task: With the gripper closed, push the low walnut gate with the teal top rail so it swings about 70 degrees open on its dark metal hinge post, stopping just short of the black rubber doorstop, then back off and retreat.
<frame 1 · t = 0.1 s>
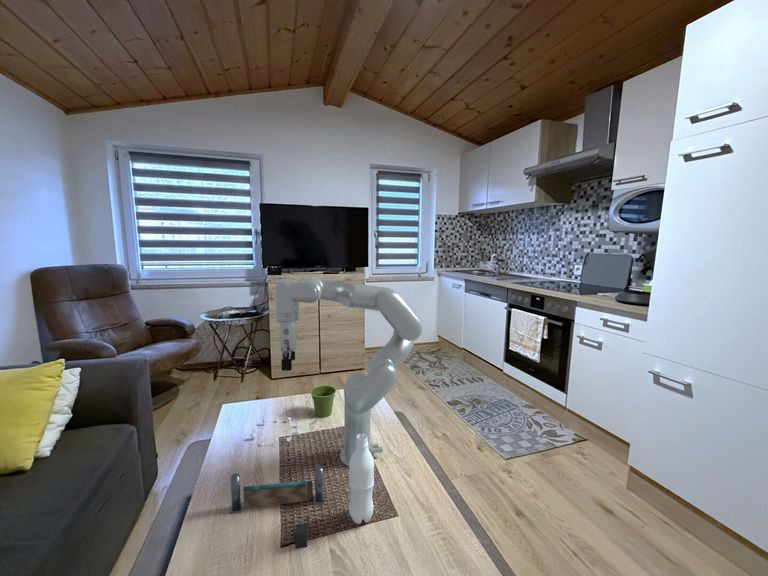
hand: (288, 364, 112), 37 cm above the table, tool pointing down, fingers open, 9 cm apart
plant pot: (323, 414, 151), on the table
gate: (278, 492, 98), point 4 cm above the table, hinge at 0.0°
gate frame: (309, 501, 100), on the table
water bottle: (361, 517, 94), on the table
scattered white fragments: (276, 434, 135), on the table
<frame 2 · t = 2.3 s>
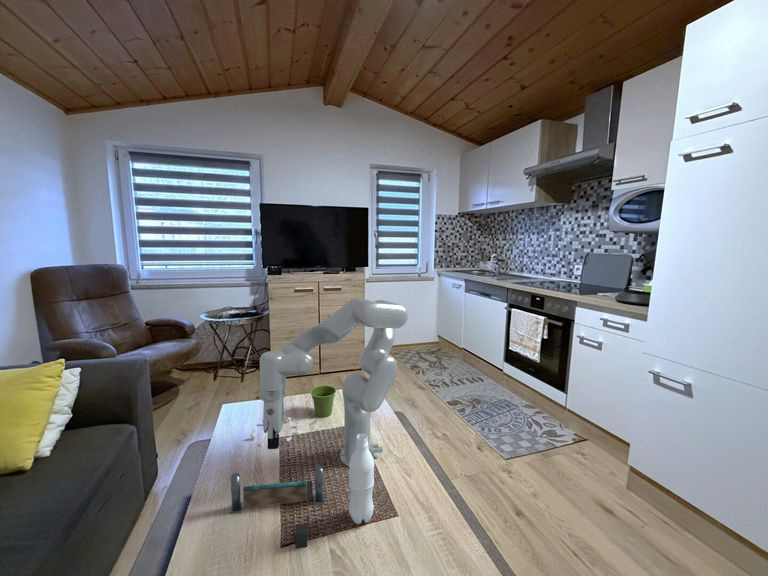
hand: (273, 447, 102), 15 cm above the table, tool pointing down, fingers closed
nothing on the table moved.
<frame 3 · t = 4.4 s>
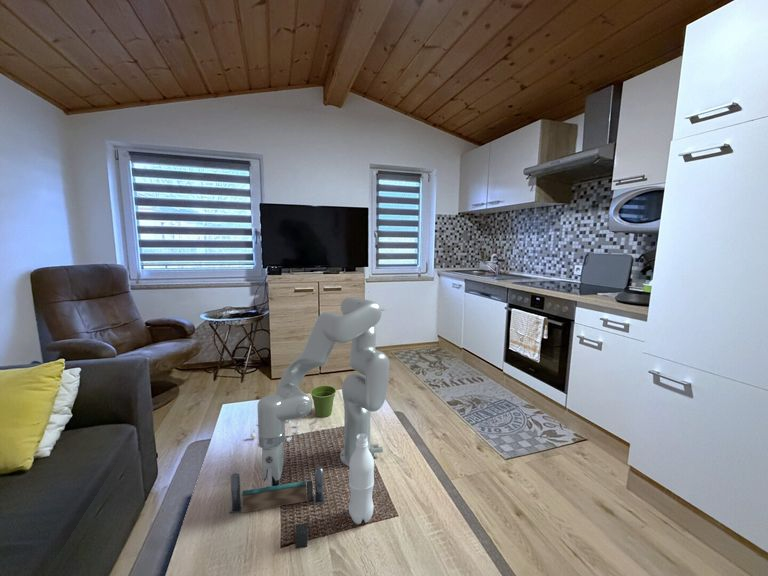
hand: (273, 492, 100), 2 cm above the table, tool pointing down, fingers closed
gate: (278, 494, 97), point 4 cm above the table, hinge at 5.2°, touching gripper
everything else where it was.
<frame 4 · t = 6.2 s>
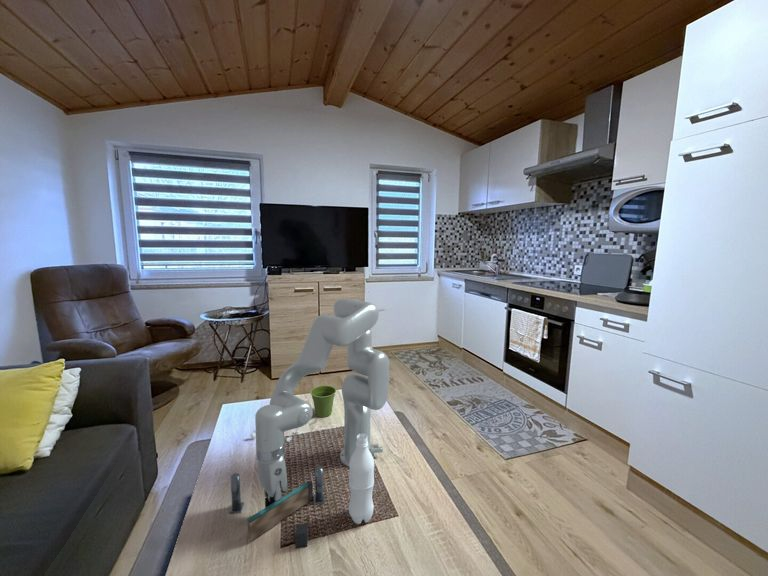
hand: (271, 509, 93), 2 cm above the table, tool pointing down, fingers closed
gate: (283, 507, 92), point 4 cm above the table, hinge at 38.9°, touching gripper
everything else where it was.
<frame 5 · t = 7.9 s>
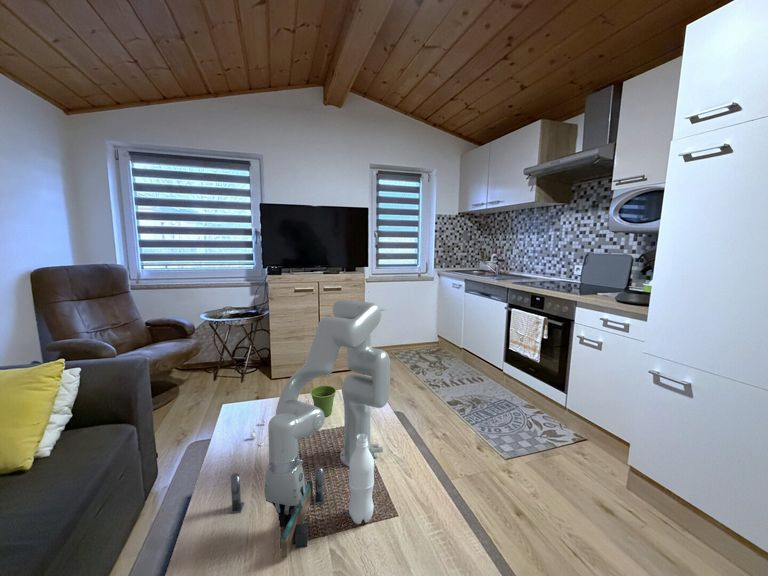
hand: (285, 522, 89), 2 cm above the table, tool pointing down, fingers closed
gate: (298, 514, 90), point 4 cm above the table, hinge at 74.3°, touching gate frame, gripper
everything else where it was.
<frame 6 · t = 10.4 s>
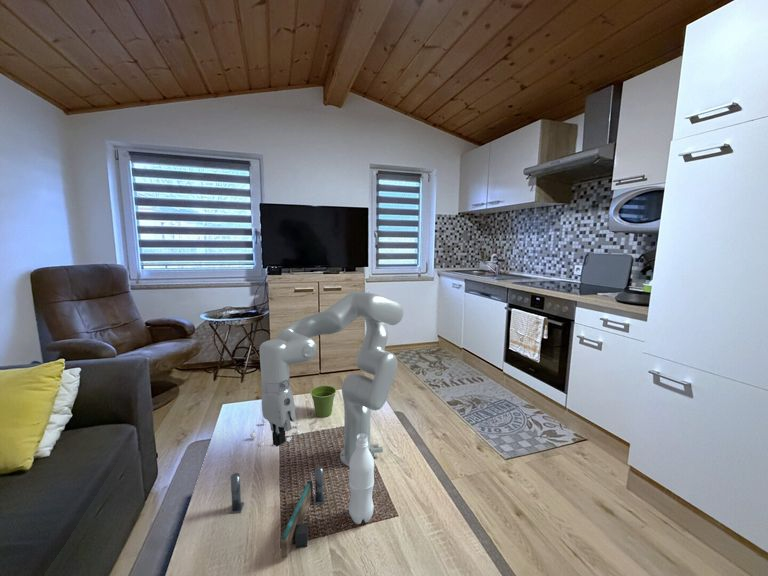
hand: (279, 443, 94), 21 cm above the table, tool pointing down, fingers closed
gate: (298, 514, 90), point 4 cm above the table, hinge at 74.3°, touching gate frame
everything else where it was.
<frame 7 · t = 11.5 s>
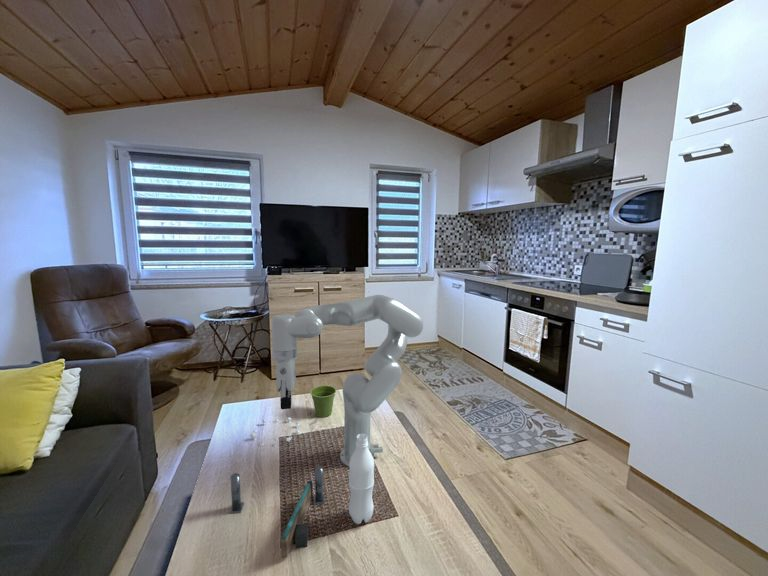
hand: (286, 407, 106), 25 cm above the table, tool pointing down, fingers closed
nothing on the table moved.
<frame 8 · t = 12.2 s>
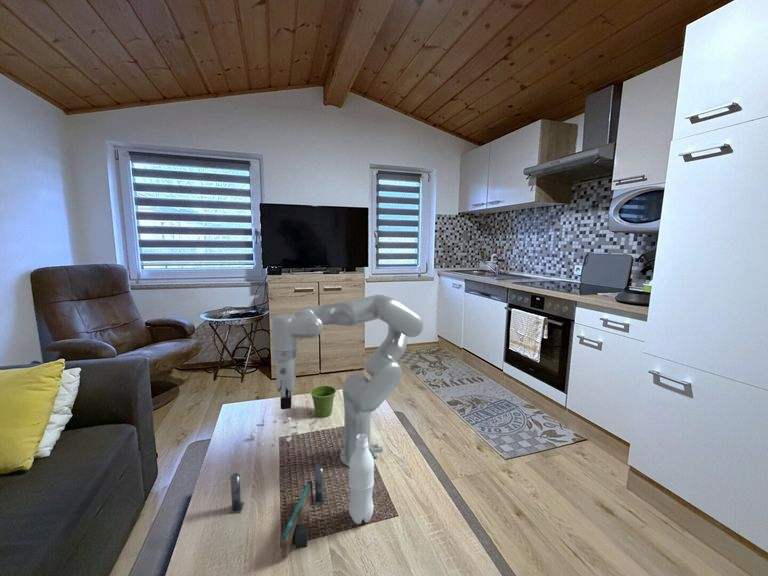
hand: (286, 407, 106), 25 cm above the table, tool pointing down, fingers closed
nothing on the table moved.
at the end: gate at +74° (first picture: +0°) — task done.
